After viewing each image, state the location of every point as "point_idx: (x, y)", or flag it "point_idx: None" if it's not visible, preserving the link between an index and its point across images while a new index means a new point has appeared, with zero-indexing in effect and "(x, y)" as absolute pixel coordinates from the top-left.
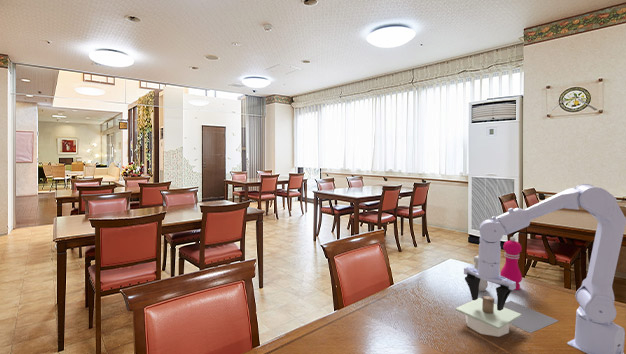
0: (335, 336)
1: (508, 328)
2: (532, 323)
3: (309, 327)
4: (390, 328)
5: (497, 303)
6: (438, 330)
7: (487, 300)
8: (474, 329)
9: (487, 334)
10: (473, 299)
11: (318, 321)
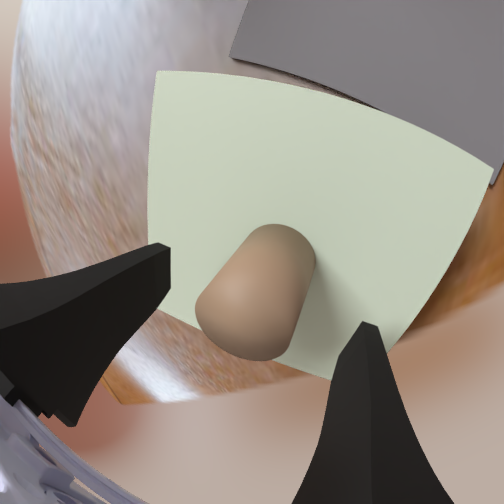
0: (121, 384)
1: None
2: (491, 61)
3: None
4: (131, 354)
5: (327, 408)
6: (186, 333)
7: (248, 357)
8: None
9: None
10: (163, 293)
11: None
